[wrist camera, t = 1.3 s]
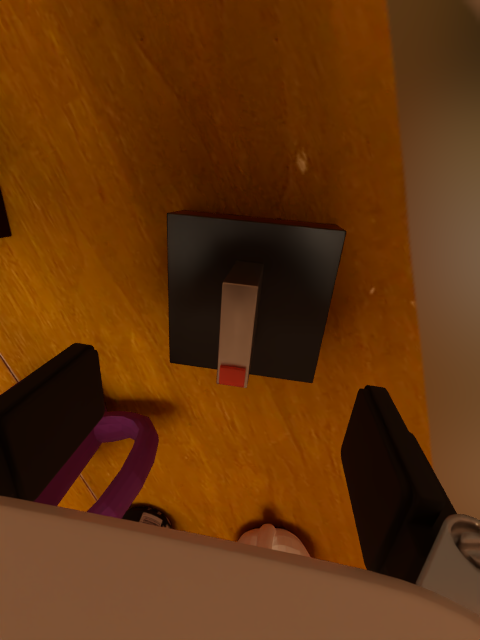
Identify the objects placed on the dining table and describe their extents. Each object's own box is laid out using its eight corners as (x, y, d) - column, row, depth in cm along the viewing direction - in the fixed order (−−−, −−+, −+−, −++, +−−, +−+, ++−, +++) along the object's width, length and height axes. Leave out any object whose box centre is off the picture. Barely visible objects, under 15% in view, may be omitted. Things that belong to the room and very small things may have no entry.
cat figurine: (244, 573, 35) (220, 814, 22) (217, 502, 31) (166, 752, 17) (320, 574, 33) (348, 840, 20) (304, 499, 29) (325, 777, 15)
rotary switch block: (182, 209, 19) (166, 212, 17) (337, 224, 18) (346, 230, 16) (182, 342, 23) (169, 362, 21) (308, 360, 23) (312, 383, 20)
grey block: (236, 260, 17) (221, 283, 13) (264, 263, 17) (257, 288, 13) (230, 343, 19) (215, 386, 15) (254, 346, 19) (246, 391, 15)
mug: (7, 368, 27) (-274, 549, 13) (165, 360, 24) (18, 576, 11) (45, 443, 30) (-146, 648, 17) (188, 443, 28) (98, 686, 14)
